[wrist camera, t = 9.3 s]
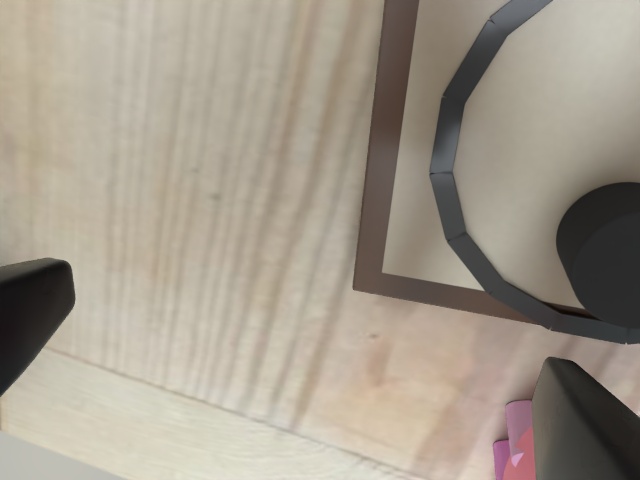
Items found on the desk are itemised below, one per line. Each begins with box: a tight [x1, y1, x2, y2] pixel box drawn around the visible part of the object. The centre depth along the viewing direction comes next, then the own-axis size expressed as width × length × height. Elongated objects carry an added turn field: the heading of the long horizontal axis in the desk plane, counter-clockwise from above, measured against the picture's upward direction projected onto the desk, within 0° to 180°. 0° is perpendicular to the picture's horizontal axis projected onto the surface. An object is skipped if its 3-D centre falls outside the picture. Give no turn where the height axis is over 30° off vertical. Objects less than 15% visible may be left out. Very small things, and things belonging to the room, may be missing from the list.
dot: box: [556, 182, 640, 329], centre depth 14 cm, size 4×4×2 cm
